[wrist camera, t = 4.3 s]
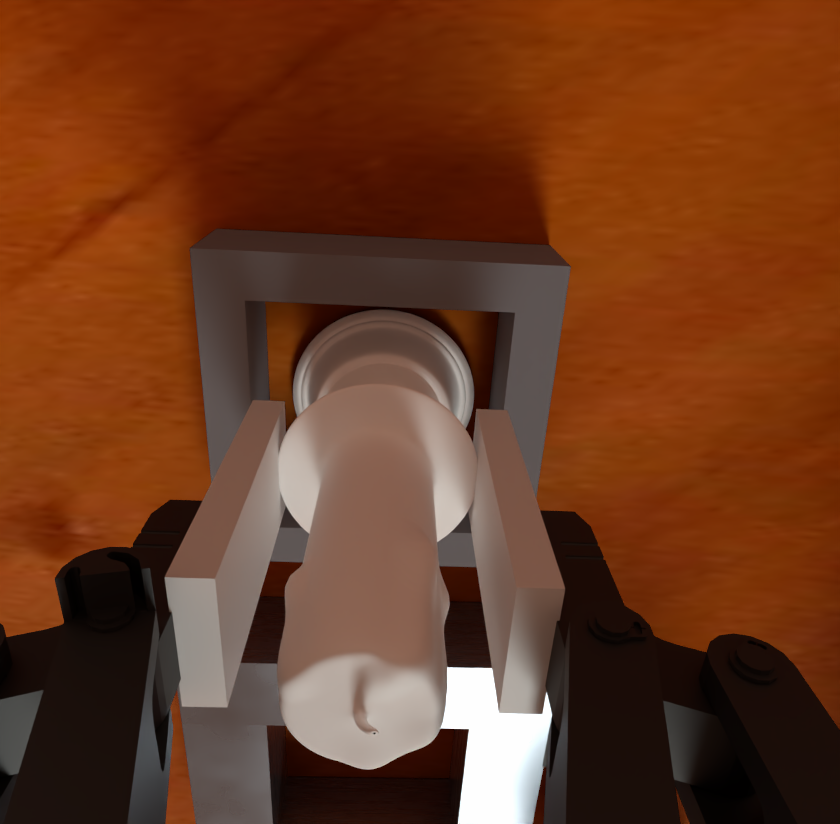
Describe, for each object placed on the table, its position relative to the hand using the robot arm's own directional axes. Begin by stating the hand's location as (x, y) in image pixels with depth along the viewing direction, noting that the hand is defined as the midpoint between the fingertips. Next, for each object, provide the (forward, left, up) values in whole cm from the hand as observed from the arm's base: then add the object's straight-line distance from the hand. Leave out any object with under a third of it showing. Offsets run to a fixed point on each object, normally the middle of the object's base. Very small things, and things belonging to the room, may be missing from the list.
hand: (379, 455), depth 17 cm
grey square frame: (0, 0, -4) cm, 4 cm away
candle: (0, 0, -4) cm, 4 cm away
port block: (0, +14, -4) cm, 14 cm away
